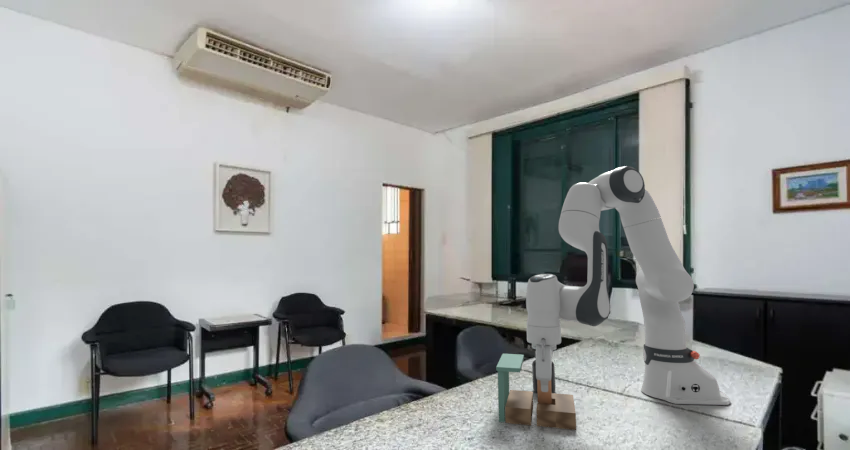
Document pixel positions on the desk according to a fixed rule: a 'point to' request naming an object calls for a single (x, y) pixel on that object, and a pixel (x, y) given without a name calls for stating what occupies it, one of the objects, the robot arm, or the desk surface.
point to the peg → (544, 394)
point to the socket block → (541, 410)
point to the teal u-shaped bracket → (506, 378)
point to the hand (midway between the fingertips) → (544, 388)
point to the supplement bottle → (536, 378)
